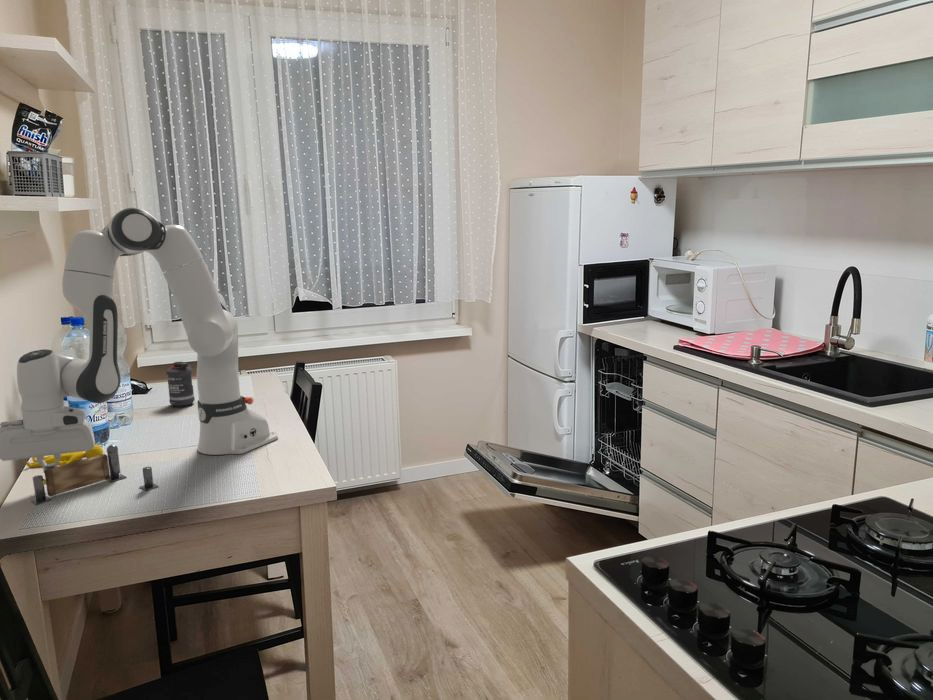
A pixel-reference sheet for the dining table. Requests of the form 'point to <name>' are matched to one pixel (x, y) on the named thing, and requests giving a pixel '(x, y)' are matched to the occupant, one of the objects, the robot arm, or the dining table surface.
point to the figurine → (69, 457)
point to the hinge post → (114, 463)
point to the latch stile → (39, 490)
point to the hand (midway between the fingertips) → (51, 471)
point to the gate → (77, 475)
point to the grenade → (180, 384)
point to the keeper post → (148, 479)
